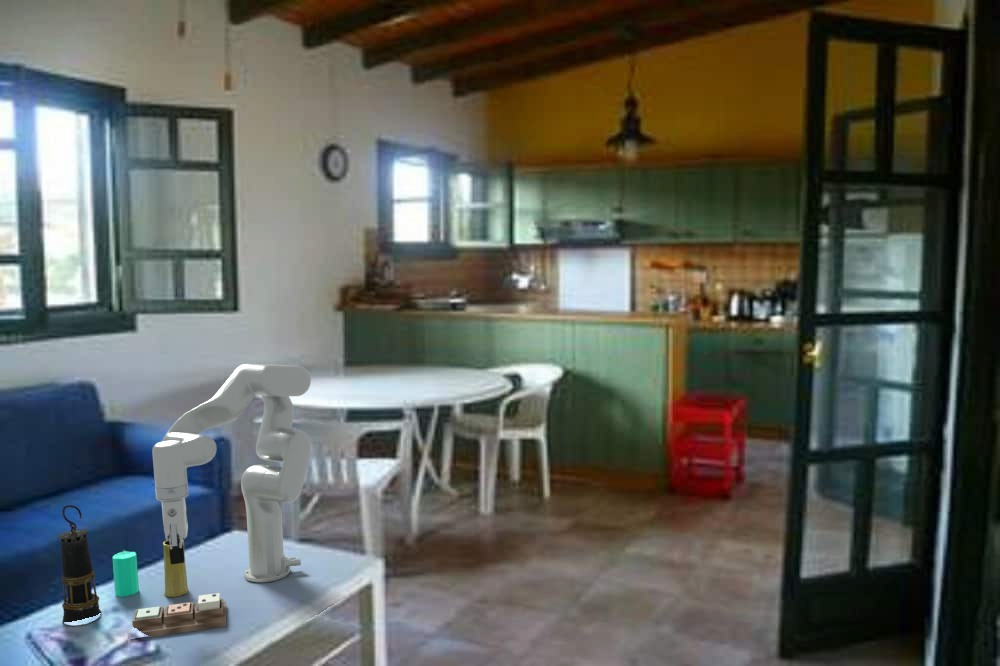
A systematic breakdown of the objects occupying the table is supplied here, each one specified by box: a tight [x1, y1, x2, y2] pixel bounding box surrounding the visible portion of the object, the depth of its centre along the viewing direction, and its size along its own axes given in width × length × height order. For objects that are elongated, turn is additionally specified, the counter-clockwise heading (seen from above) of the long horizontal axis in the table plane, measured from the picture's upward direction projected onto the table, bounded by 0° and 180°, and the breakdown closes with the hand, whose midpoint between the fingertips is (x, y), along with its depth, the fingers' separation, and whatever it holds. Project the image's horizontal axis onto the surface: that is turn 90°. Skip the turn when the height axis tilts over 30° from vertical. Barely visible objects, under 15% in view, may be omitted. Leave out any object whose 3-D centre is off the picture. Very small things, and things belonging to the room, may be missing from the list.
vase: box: [162, 539, 189, 598], centre depth 238 cm, size 6×6×14 cm
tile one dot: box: [136, 605, 161, 620], centre depth 218 cm, size 5×5×3 cm
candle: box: [111, 550, 140, 597], centre depth 239 cm, size 6×6×12 cm
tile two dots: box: [197, 592, 221, 611], centre depth 222 cm, size 5×5×3 cm
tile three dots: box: [168, 602, 191, 615], centre depth 220 cm, size 5×5×3 cm
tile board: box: [131, 597, 227, 638], centre depth 220 cm, size 22×12×4 cm, turn 107°
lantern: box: [57, 504, 102, 623], centre depth 222 cm, size 9×9×30 cm
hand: (177, 562), depth 220 cm, fingers closed
